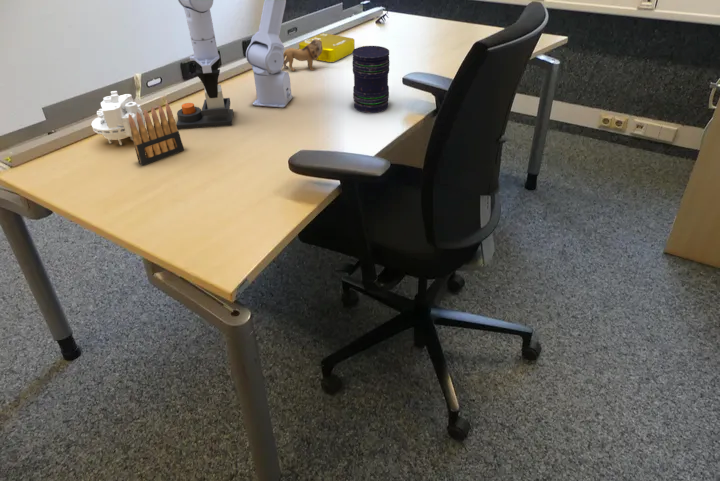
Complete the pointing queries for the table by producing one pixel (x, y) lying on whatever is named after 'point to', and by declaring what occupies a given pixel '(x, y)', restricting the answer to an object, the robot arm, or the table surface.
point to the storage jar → (370, 78)
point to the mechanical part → (116, 117)
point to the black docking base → (202, 119)
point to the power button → (188, 108)
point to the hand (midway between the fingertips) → (213, 91)
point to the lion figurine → (304, 54)
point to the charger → (215, 100)
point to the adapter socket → (216, 111)
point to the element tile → (332, 46)
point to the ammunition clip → (155, 136)
